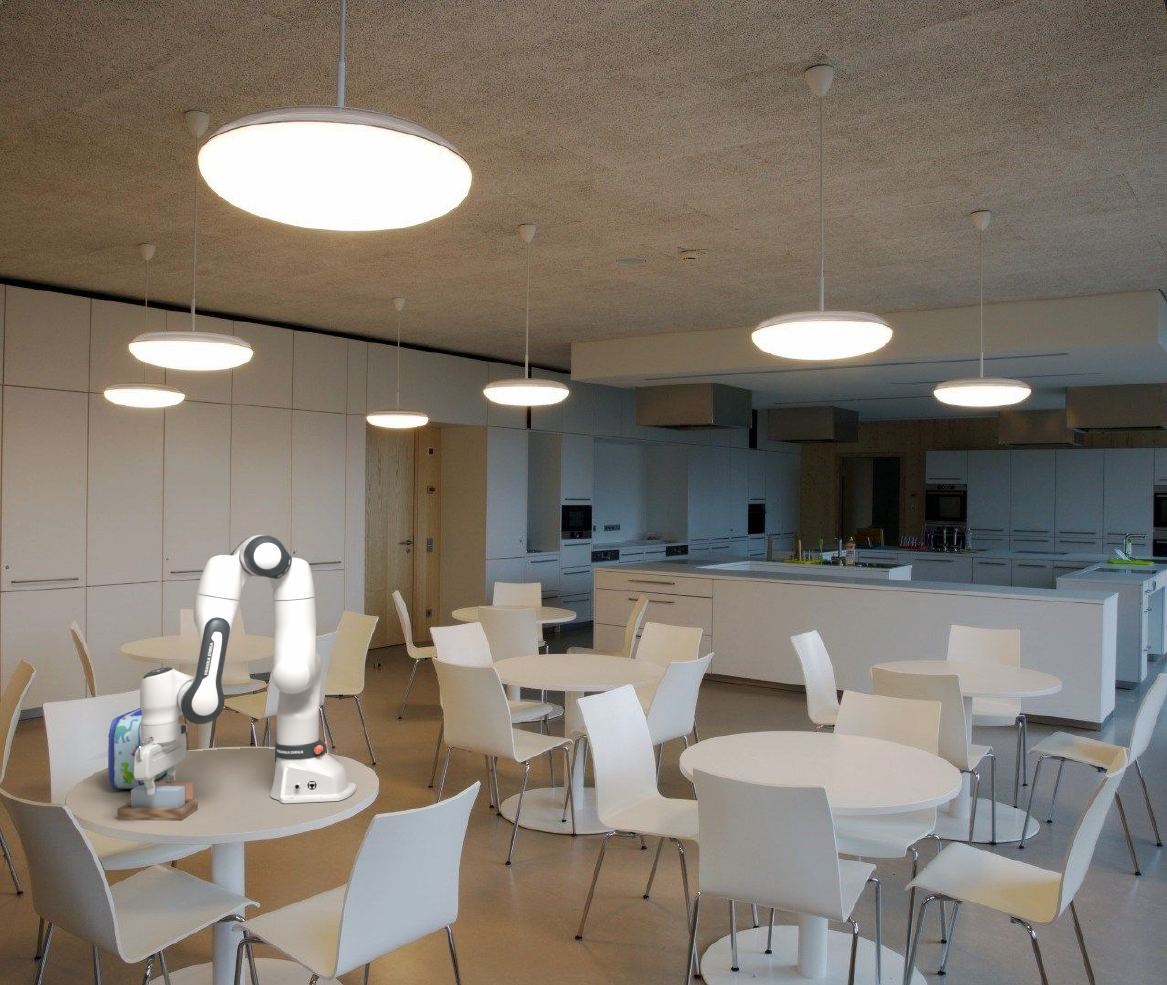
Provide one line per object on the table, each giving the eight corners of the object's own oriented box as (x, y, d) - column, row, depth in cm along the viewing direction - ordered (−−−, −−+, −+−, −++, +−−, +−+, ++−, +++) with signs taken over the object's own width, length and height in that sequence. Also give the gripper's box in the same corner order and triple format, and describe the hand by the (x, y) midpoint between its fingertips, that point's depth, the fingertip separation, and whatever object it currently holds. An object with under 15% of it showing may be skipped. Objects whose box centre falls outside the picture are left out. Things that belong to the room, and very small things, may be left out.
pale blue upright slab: (184, 809, 237) (184, 786, 237) (176, 814, 233) (176, 790, 233) (139, 808, 238) (139, 785, 238) (130, 813, 234) (131, 789, 234)
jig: (197, 809, 239) (197, 799, 239) (181, 820, 231) (181, 809, 231) (135, 808, 240) (135, 798, 240) (117, 819, 232) (117, 808, 232)
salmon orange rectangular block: (193, 800, 247) (193, 781, 247) (185, 805, 243) (185, 786, 243) (149, 800, 248) (149, 781, 248) (141, 805, 244) (141, 785, 244)
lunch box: (142, 769, 278) (142, 698, 279) (179, 768, 279) (179, 698, 279) (102, 795, 252) (102, 717, 253) (142, 794, 253) (143, 716, 253)
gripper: (151, 743, 225) (152, 800, 225) (190, 723, 246) (191, 776, 246) (125, 743, 226) (127, 801, 225) (167, 724, 246) (168, 776, 246)
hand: (161, 787), depth 236 cm, fingers open, 8 cm apart
